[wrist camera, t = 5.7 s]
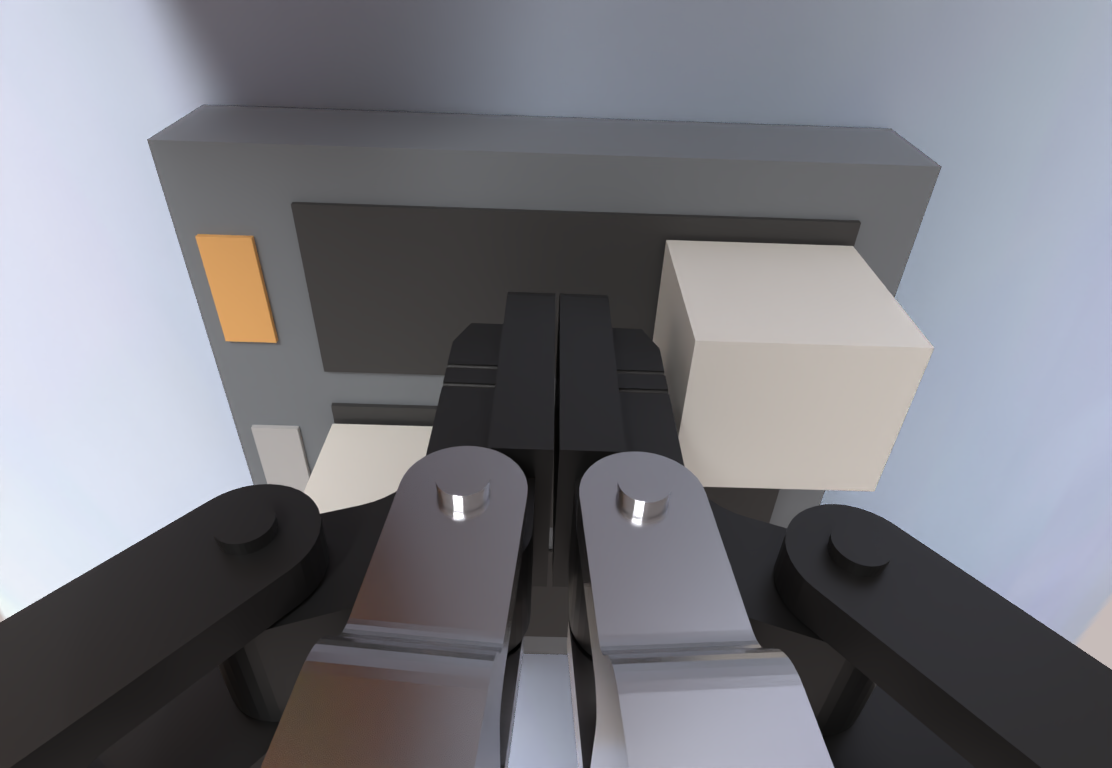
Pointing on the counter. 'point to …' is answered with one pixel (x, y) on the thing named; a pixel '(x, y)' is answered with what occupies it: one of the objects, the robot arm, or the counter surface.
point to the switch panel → (481, 249)
